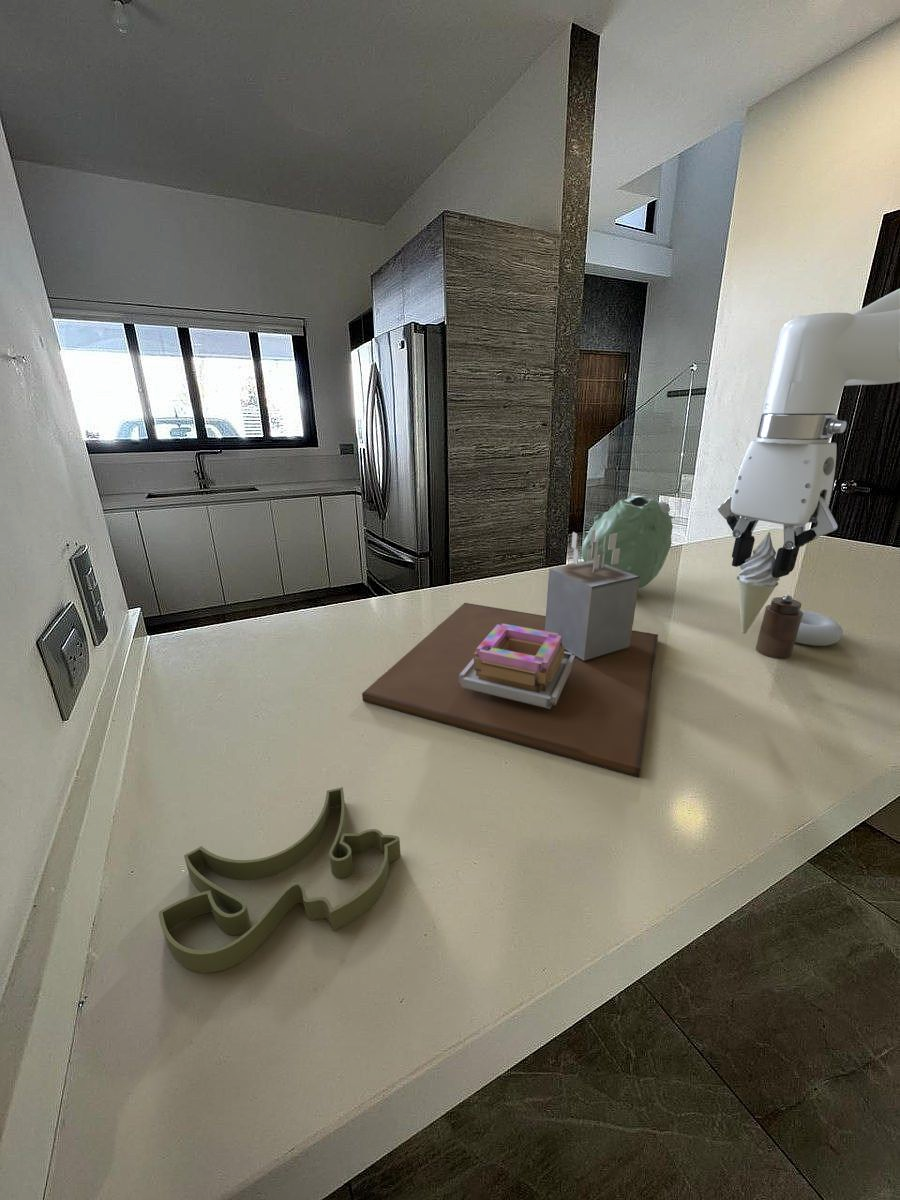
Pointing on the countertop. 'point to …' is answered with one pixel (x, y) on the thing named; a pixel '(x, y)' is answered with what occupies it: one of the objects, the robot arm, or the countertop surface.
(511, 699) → the brown serving board set
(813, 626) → the donut
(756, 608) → the ice cream cone
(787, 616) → the pepper mill
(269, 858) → the cookie cutter
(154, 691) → the countertop surface
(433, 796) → the countertop surface
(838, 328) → the robot arm
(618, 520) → the green ceramic vase
